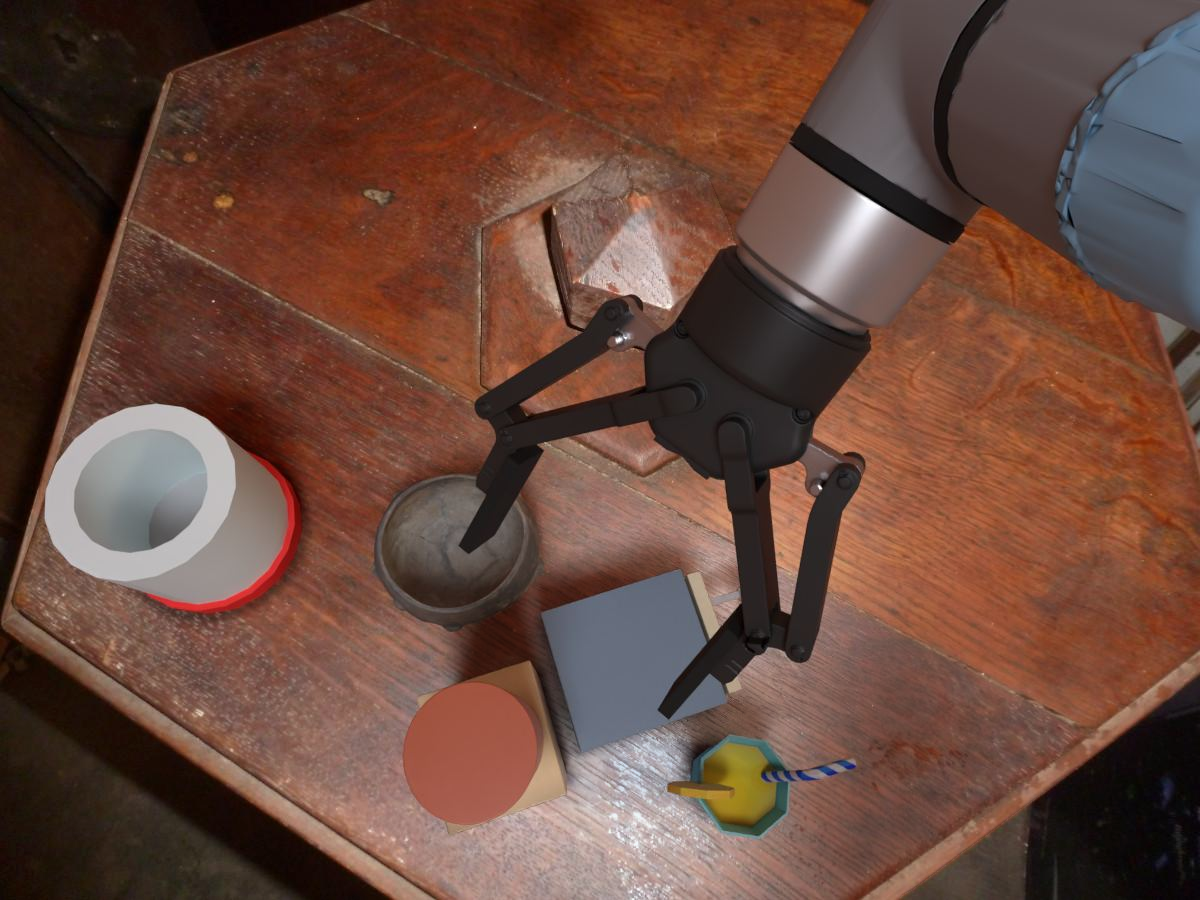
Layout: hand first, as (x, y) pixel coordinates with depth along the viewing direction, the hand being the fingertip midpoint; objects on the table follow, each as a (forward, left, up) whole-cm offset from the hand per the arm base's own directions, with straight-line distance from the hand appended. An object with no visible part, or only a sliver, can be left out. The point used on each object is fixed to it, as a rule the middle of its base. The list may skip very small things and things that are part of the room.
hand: (571, 618), depth 42 cm
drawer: (-2, -10, -32) cm, 34 cm away
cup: (-14, -11, -33) cm, 38 cm away
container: (+22, +29, -33) cm, 49 cm away
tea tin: (-5, +7, -13) cm, 16 cm away
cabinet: (-2, -5, -33) cm, 33 cm away
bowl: (+12, +7, -33) cm, 36 cm away
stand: (-5, +7, -33) cm, 34 cm away
